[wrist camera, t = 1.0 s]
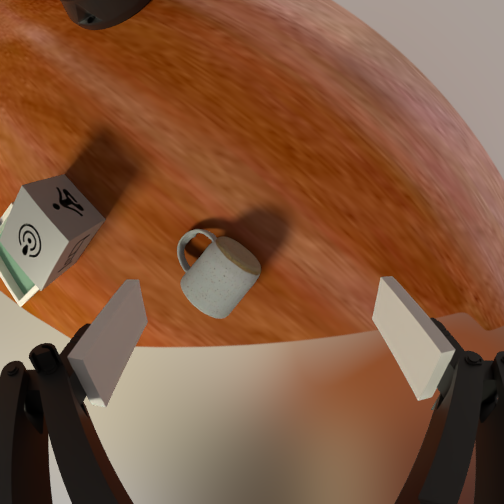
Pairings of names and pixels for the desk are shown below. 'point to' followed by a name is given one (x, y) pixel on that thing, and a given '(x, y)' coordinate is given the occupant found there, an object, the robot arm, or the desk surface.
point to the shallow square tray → (16, 271)
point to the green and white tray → (4, 273)
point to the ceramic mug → (218, 274)
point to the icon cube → (49, 228)
